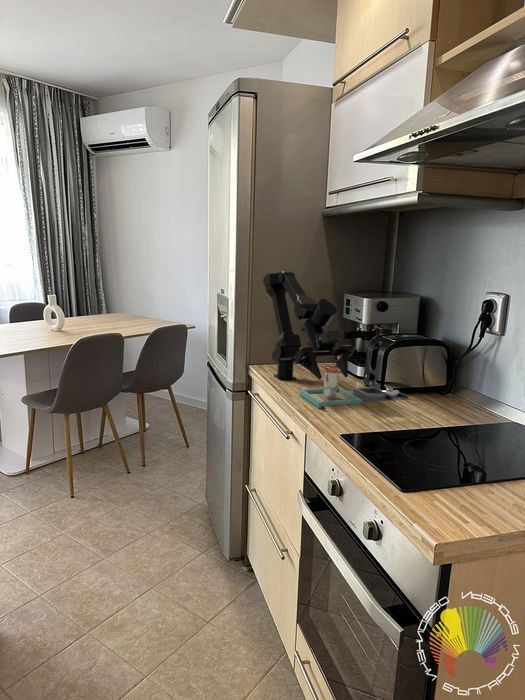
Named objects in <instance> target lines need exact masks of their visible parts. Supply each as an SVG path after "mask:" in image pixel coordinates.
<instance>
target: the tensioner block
mask: <svg viewBox="0 0 525 700" xmlns="http://www.w3.org/2000/svg"><path fill="white" fill-rule="evenodd" d="M385 388H386V390H381V388H378V387H376V386H370V387H369V386H367V387H353V389H352V390H346V391H347V392H349V393H351V394H352V395H354V396H356V397H358V398H360V399H361V400H362V403H370V402H371V403H372V402H384V401H385V402H386V401H387V402H389V401H403V400H406V401H407V400H409V395H407V394H405V393H402V392H400V391H399V390H398V389H396V390H393V389H394V388H392V387H385ZM379 389H380V390H379Z"/></svg>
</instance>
